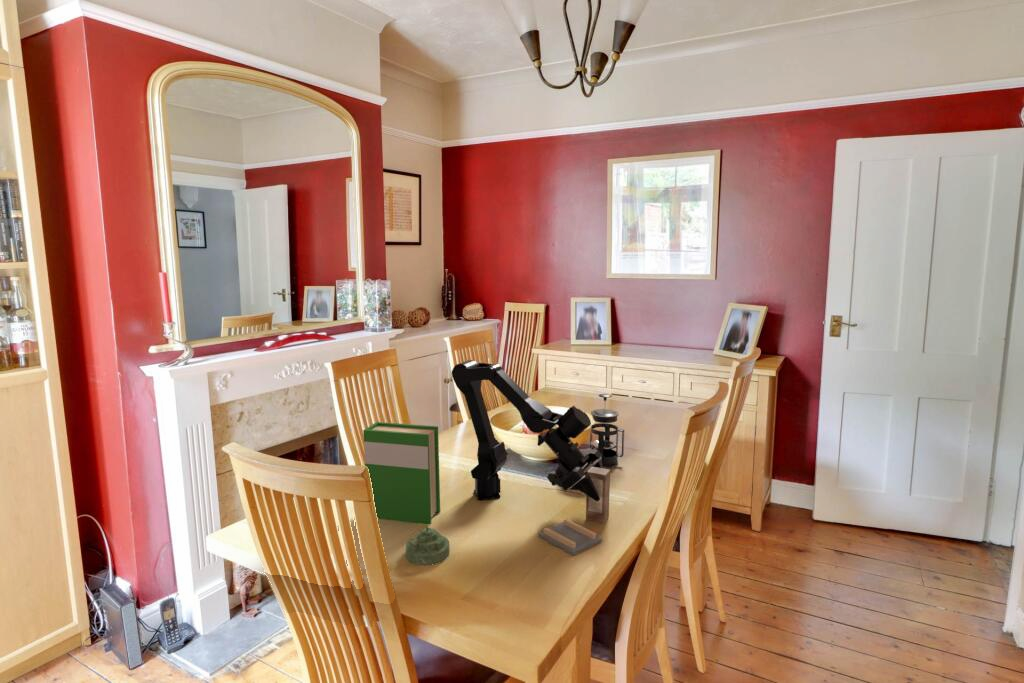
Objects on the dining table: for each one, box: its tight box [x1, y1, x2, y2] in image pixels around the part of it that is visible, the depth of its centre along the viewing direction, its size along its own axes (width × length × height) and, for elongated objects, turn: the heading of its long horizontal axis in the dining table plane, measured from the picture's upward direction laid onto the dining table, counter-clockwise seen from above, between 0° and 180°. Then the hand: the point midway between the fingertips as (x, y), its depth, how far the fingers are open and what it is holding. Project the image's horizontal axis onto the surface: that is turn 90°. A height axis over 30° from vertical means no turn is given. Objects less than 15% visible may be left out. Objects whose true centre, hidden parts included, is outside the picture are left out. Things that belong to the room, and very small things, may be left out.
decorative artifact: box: [405, 525, 451, 567], centre depth 136 cm, size 10×7×10 cm
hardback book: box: [362, 421, 441, 525], centre depth 154 cm, size 18×7×24 cm, turn 76°
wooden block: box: [585, 467, 611, 523], centre depth 153 cm, size 5×4×13 cm
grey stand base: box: [537, 518, 603, 556], centre depth 143 cm, size 12×10×2 cm
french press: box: [589, 393, 625, 468], centre depth 190 cm, size 12×9×23 cm
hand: (603, 494), depth 152 cm, fingers open, 7 cm apart
